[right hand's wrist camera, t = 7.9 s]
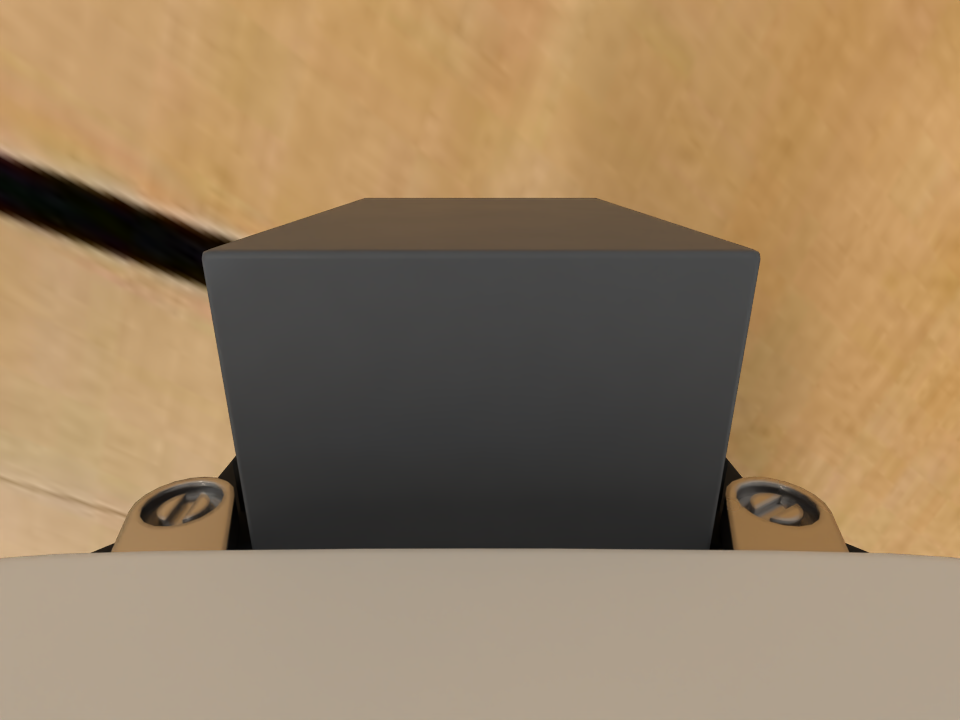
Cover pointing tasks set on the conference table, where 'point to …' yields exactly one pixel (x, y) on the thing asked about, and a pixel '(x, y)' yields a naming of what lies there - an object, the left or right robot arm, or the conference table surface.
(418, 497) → the beam
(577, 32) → the conference table surface
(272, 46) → the conference table surface
